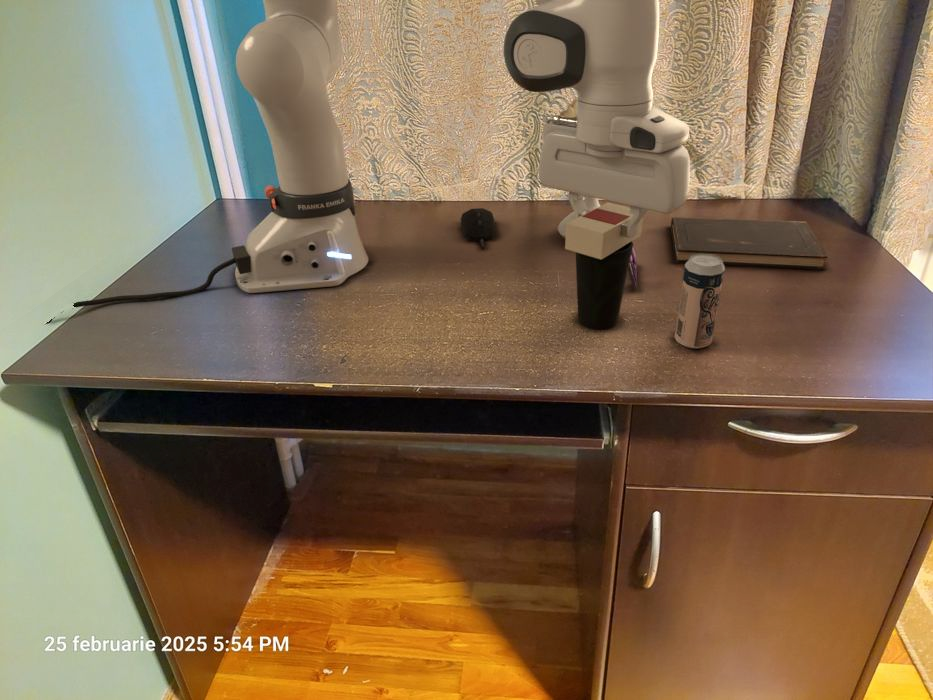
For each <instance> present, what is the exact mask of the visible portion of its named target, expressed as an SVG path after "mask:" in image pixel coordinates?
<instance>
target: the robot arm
mask: <svg viewBox="0 0 933 700" xmlns="http://www.w3.org/2000/svg"><path fill="white" fill-rule="evenodd" d="M534 1H535V3H536V4H537V6H534V7H531V8H530V9H528V10H526V11H524V12H522V13H520V14H519V15H517V16H516V17H515V18H514V19H513V21H512V22H511V23H510V25H509V26H508V28H507V31H506V33H505V37H504V42H503V58H504V64H505V66H506V69H507V72H508V74H509V75H510V77H511V79H512V80H513V82H515V83H516V85H517V86H518V87H520V88H522V89H523V90H525V91H527V92H531V93H541V94H543V93H550V92H551V93H552V92H554V91H558V90H564V89H569V88H570V89H574V90H575V91H576V92H577V101H578V104H577V118H574V117H563V116H560V114H555V115H552V117H550V118H548V119H547V120H546V121H545V122H544V124H543V127H542V145H541V150H540V155H539V156H540V157H539V164H538V179H539V181H540V183H541V185H542V186H543V187H545V188H549V189H554V190H559V191H563V192H568V201H569V203H570V205H571V208H572V210H573V212H575V213H576V214H575V219H576V218H578V217H580V216H582V215H584V214H586V213H588V212H589V210H587V209H586V206H585V203H584V199H585V196H589V197H594V198H598V200H603V201H607V202H611V203H615V204H620V205H624V206H629V207H630V213H631V214H634V215H633V216H632V218H631V219H630V220H628V221H626V222H624V223H622V224H621V232H620V235H621V236H623V237H627V238H633V237H634V236H636V234H637V227H638V223H639V221H640V220H641V219H642V218H643V219H644V217H645V215H646V214H647V213H648V211H652V212H657V213H661V214H666V215H667V214H668V215H669V214H672V213H674V212H676V211H677V210H679V209H680V208H681V207H683V206H684V205H685V204H686V202H687V201H688V197H689V191H690V190H689V189H690V179H691V178H690V177H691V159H690V155H689V151H688V150H687V148H686V147H685V146H684V145H683V144H684V143H685V142H687V140H689V136H690V126H689V125H688V123H686V122H684V121H682V120H680V119H678V118H676V117H674V116H672V115H670V114H668V113H667V112H665V111H663V110H661V109H660V108H659V107H656V106H654V105H653V101H654V90H653V85H652V78H653V77H652V76H653V72H654V71H653V70H654V68H655V65H656V63H657V59H658V50H659V38H660V37H659V36H660V0H534ZM262 3H263V9H264V14H265V20H263V21H261V22H259V23H257V24H256V25H254V26H253V27H252V28H251V29H250V30H249V31H248V33H246V34H245V36H244V38H243V39H242V41H241V42H240V44H239V46H238V48H237V51H236V56H235V68H236V73H237V76H238V78H239V80H240V83H241V84H242V86H243V88H244V89H245V91H247V92H248V93H249V94H250V95H251V96H252V97H253V98H252V99H253V100H254V102H255V105H256V108H257V109H258V112H259V114H260V117H261V119H262V122H263V124H264V127H265V129H266V131H267V135H268V137H269V141H270V144H271V150H272V154H273V159H274V164H275V168H276V174H277V180H278V185H279V186H278V187H275V186H274V185H267V186H266V187H265V189H264V195H265V198H266V199H267V200H269V201H268V202H269V207H270V210H271V212H270V213H269V214H268V215H266V217H265V218H264V219H262V221H261V222H260V223H258V224H257V225H256V226H255V227H254V228H253V229H252V230H251V231H250V232H249V233H248V236H247V238H246V241H245V245H238V246H233V247H231V252H232V256H233V258H230V259H229V260H226V261H224V262H223V263H221V264H219V265H217V266H215V267H214V268H213V269H212V270H211V271H210V272H209V274H208V275H207V279H206V281H205V283H203V284H202V285H200V286H197V287H195V288H192V289H188V290H179V291H178V290H177V291H166V292H165V291H164V292H156V293H155V292H154V293H147V294H132V295H131V294H128V295H127V294H126V295H116V296H109V297H104V298H98V299H89V300H80V301H75V302H76V303H74V302H73V303H74V305H73V306H74V307H76V308H81V307H82V308H83V307H89V306H98V305H103V304H110V303H115V302H125V301H126V302H127V301H144V300H145V301H146V300H154V299H163V298H176V297H177V298H178V297H183V296H189V295H193V294H197V293H200V292H203V291H205V290H206V289H208V288H209V287H211V285H212V283H213V281H214V278H215V276H216V275H217V274H218V273H219V272H221V271H223V270H224V269H226V268H228V267H230V266H232V265H234V264H235V266H236V267H235V269H234V270H235V271H234V275H235V282H236V284H237V287H238V288H239V289H240V290H241V291H243V292H245V293H248V294H257V293H258V294H259V293H270V292H282V291H292V290H293V291H295V290H305V289H316V288H317V289H318V288H327V287H336V286H339V285H341V284H343V283H344V282H345V281H346V280H347V279H348V278H349V277H351V276H353V275H355V274H357V273H358V272H361V270H363V269H364V268H366V266H367V264H368V263H369V255H368V254H367V252H366V249H365V247H364V244H363V242H362V239H361V235H360V233H359V229H358V225H357V221H356V217H355V216H356V202H355V201H356V200H355V194H354V187H353V184H352V182H351V180H350V178H349V174H348V167H347V166H348V165H347V158H346V151H345V146H344V137H343V132H342V130H341V128H340V127H339V126H338V123H337V121H336V118H335V115H334V112H333V109H332V106H331V103H330V99H329V95H328V89H327V83H329V82H330V81H331V80H332V79H333V78H334V76H335V75H336V74H337V72H338V70H339V67H340V65H341V62H342V58H343V42H342V38H341V36H340V25H339V24H340V23H339V13H338V5H337V0H262ZM62 313H63V312H61V313H60V314H62ZM55 318H56V317H54V318H53V319H51V320H50V321H49V322H47V323H46V324H45V325H49V324H51V322H52V321H53V320H54V319H55Z"/></svg>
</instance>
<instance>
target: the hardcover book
mask: <svg viewBox="0 0 933 700" xmlns="http://www.w3.org/2000/svg"><path fill="white" fill-rule="evenodd" d="M670 231H671V232H670V233H671V239H672V240H671V241H672V247H673V254H674V255H673V256H674V262H675V263H682V264H684V263H685V264H686V262H688V261H689V259H690V257H691V256H692V255H695V254H700V253H701V254H712V255H715V256H718V257H719V258H720V259H721V260H722V261H723V264H724V266H726V265H727V266H741V267H743V266H744V267H745V266H746V267H763V268H764V267H765V268H783V269H805V270H807V269H808V270H825V266H824V264H825V259H828V255H827V253H826V252H825V250H824V249H823V247H822V245H821V244H820V242H819V240H818V239H817V237H816V236H815V233H814V232H813V230H812V229H811V227H810V226H809V224H808V222H807V221H803V220H801V221H800V220H799V221H798V220H776V219H775V220H774V219H773V220H770V219H744V218H743V219H742V218H719V217H718V218H715V217H714V218H713V217H690V216H689V217H688V216H671V222H670Z"/></svg>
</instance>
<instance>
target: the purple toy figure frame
mask: <svg viewBox="0 0 933 700" xmlns="http://www.w3.org/2000/svg"><path fill="white" fill-rule="evenodd" d="M636 257H637V256H636V252H635V249H634V247H633V249H632V254H631V258H630V263H629V268H628V273H629V276H630V280H631V284H632V287H633V290H634V291H637V290H638V278H637V277H638V274H637V270H638V269H637V268H638V267H637V258H636Z"/></svg>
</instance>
